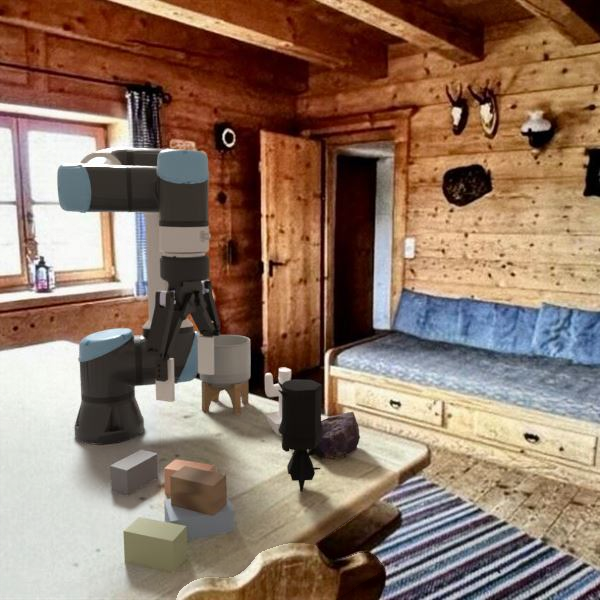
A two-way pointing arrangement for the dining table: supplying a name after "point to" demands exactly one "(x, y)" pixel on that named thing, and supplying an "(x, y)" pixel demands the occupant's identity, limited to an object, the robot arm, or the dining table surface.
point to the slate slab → (201, 520)
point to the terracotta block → (178, 465)
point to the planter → (228, 372)
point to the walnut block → (198, 490)
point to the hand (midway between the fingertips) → (187, 386)
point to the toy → (301, 426)
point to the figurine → (272, 391)
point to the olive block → (155, 544)
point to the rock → (339, 436)
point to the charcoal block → (134, 472)
